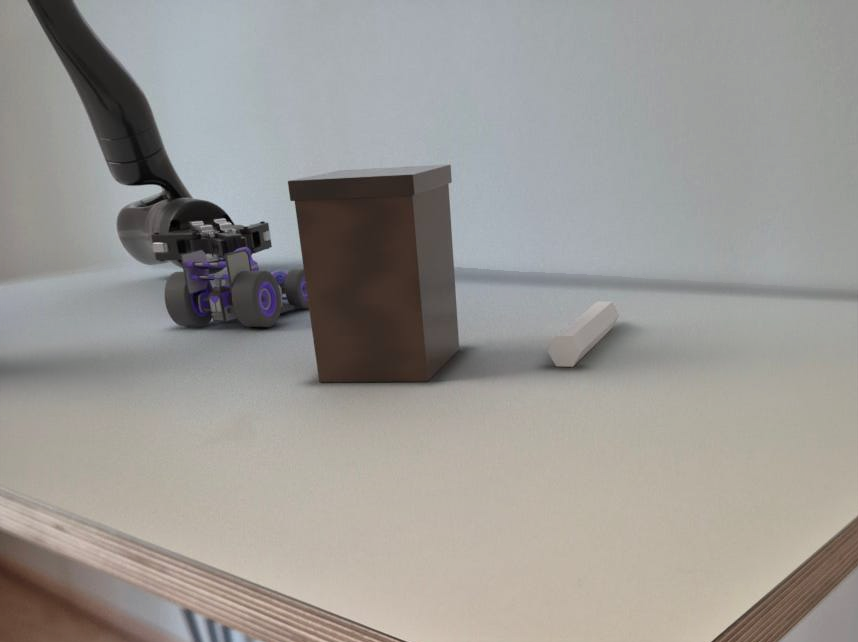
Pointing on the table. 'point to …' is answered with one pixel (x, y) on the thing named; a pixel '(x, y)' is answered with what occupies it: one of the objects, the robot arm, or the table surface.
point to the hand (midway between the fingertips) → (236, 247)
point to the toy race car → (232, 291)
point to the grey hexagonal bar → (583, 334)
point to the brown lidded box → (378, 271)
